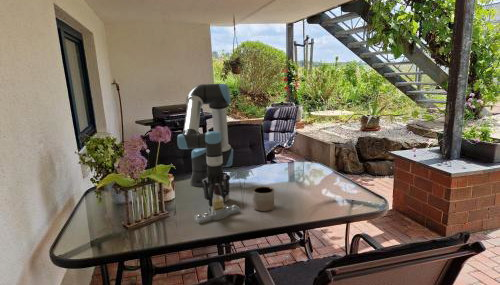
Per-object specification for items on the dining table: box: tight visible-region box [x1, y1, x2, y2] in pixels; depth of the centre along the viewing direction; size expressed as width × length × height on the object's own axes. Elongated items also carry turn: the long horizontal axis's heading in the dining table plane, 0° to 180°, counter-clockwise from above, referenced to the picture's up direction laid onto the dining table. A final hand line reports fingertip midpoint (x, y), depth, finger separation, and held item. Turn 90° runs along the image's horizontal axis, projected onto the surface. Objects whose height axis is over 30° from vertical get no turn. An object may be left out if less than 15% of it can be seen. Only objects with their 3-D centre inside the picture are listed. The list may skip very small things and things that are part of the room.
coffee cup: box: [213, 171, 231, 202], centre depth 174 cm, size 10×10×15 cm
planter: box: [252, 186, 275, 212], centre depth 162 cm, size 11×11×10 cm
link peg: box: [213, 198, 224, 210], centre depth 154 cm, size 4×4×8 cm
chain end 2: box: [221, 204, 240, 219], centre depth 157 cm, size 8×11×4 cm
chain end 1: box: [193, 205, 223, 225], centre depth 151 cm, size 8×11×4 cm
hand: (217, 210), depth 154 cm, fingers open, 4 cm apart
